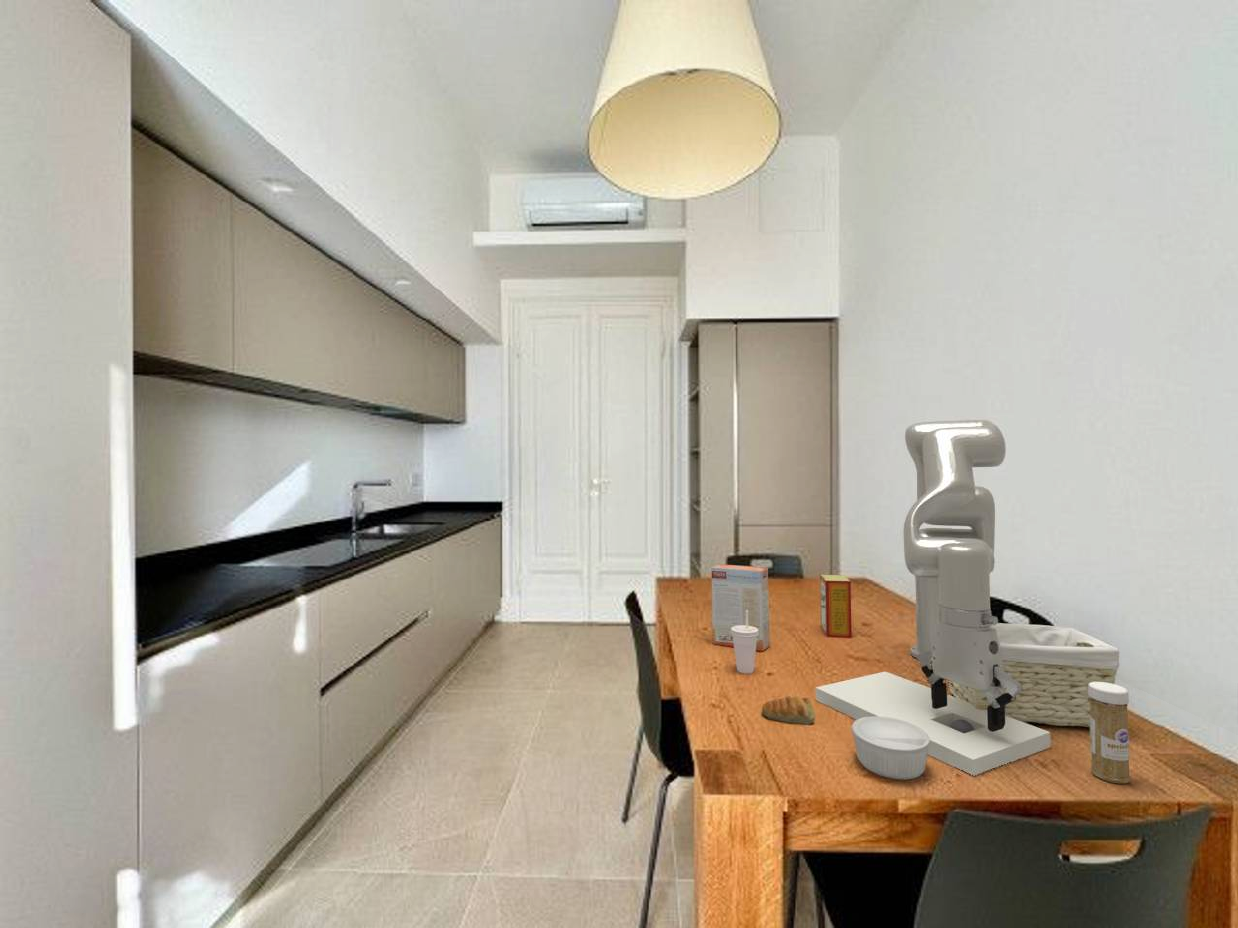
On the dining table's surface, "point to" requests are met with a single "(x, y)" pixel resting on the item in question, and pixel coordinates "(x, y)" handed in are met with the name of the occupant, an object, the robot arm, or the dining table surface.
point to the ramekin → (891, 747)
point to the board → (936, 721)
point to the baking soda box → (835, 606)
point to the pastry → (790, 710)
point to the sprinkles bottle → (1109, 731)
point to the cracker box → (740, 602)
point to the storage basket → (1049, 673)
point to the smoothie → (745, 646)
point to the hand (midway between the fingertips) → (966, 717)
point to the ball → (962, 726)
